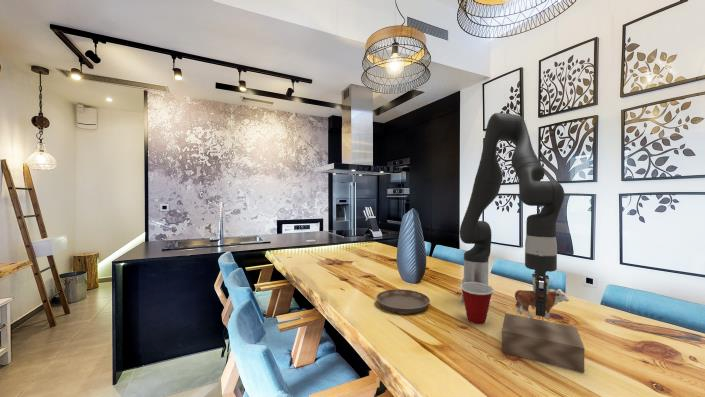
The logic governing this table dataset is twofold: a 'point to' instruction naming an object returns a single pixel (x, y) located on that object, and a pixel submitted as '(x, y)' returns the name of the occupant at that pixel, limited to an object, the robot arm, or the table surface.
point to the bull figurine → (528, 298)
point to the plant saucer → (403, 301)
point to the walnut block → (543, 342)
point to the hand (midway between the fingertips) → (539, 311)
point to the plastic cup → (476, 301)
